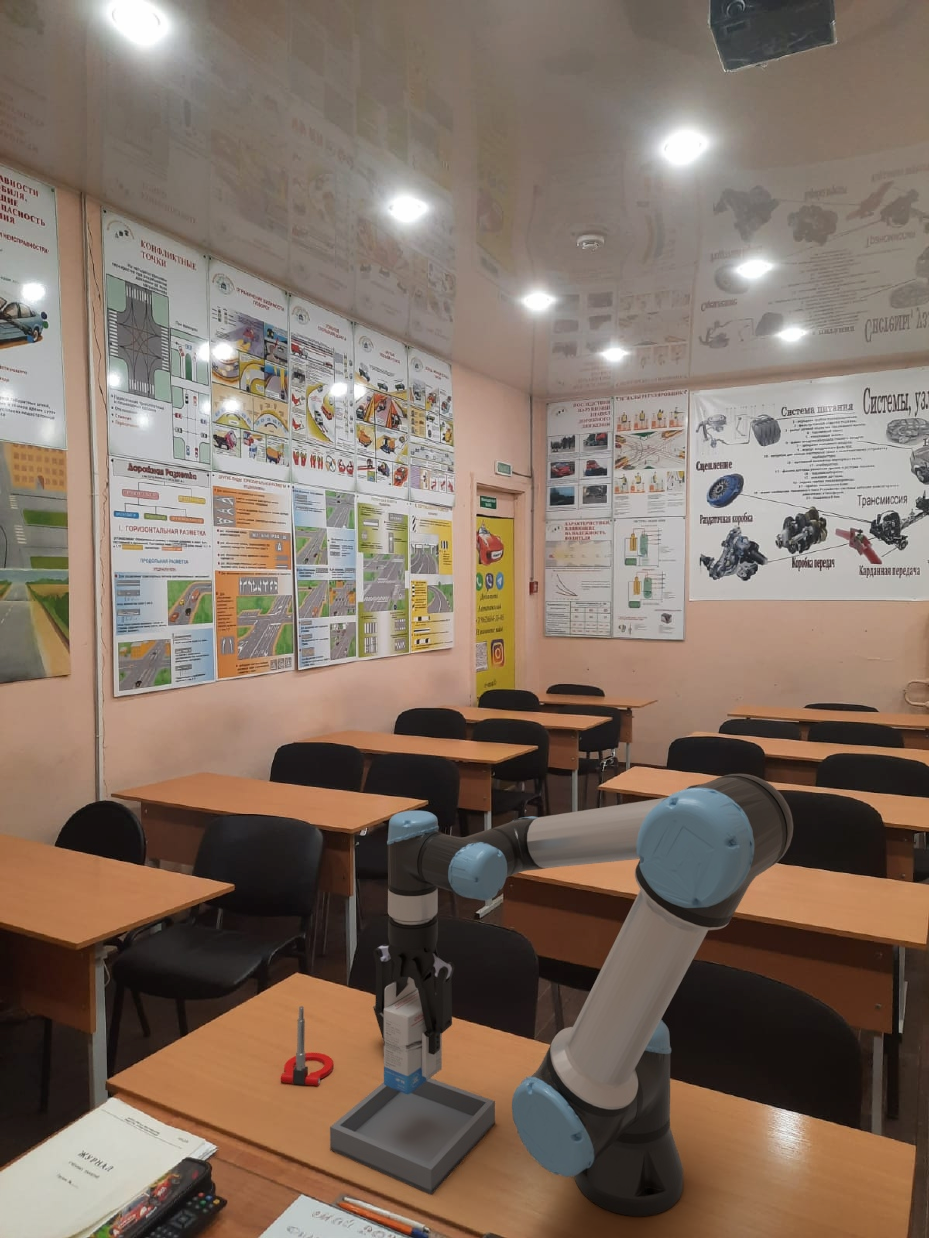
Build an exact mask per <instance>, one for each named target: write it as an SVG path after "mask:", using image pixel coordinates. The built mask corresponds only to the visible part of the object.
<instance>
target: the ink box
mask: <svg viewBox="0 0 929 1238" xmlns="http://www.w3.org/2000/svg"><path fill="white" fill-rule="evenodd" d="M425 1030H426V1026H425V1021H424V1016H423V1011H422V1006H421V1002H420V997H419V992H418V989H417V988H416V987H415V983H414V980H413V979H412V978H410V977H408V981H407V985H406V988H405V989H404V990H403V991H402V992H401V993H400V994H399V995H398V996H397V997H396V981H395V982H394V983H392V982H391V984H390V985H388V986H387V987H386V988H385V995H384V1041H383V1082H384V1085H386V1086H388V1087H391V1088H393V1089H395V1090H398V1091H400V1092H402V1093H405V1094H407V1095H409V1094H410V1093H411V1092H413V1091H414V1090H415V1089H416V1088H418V1087H419V1086H420V1085H422V1084H423V1083H424V1082H426V1081H427V1080H428V1079H430V1078H431V1079H432V1077H434V1075H437V1073H439V1072H440V1071H441V1070H442V1067H443V1066H442V1063H443V1062H442V1060H443V1059H442V1055H443V1054H442V1051H443V1050H442V1048H443V1046H442V1042H443V1039H442V1038H443V1037H442V1036H443V1035H442V1034H443V1033H441V1034H440V1049H439V1051H438V1052H437V1053H436V1069H435V1070H434V1071H433V1072H432V1073H430V1074H429V1075H428V1076H427V1077H424V1076H422V1033H423V1032H424V1031H425Z"/></svg>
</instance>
